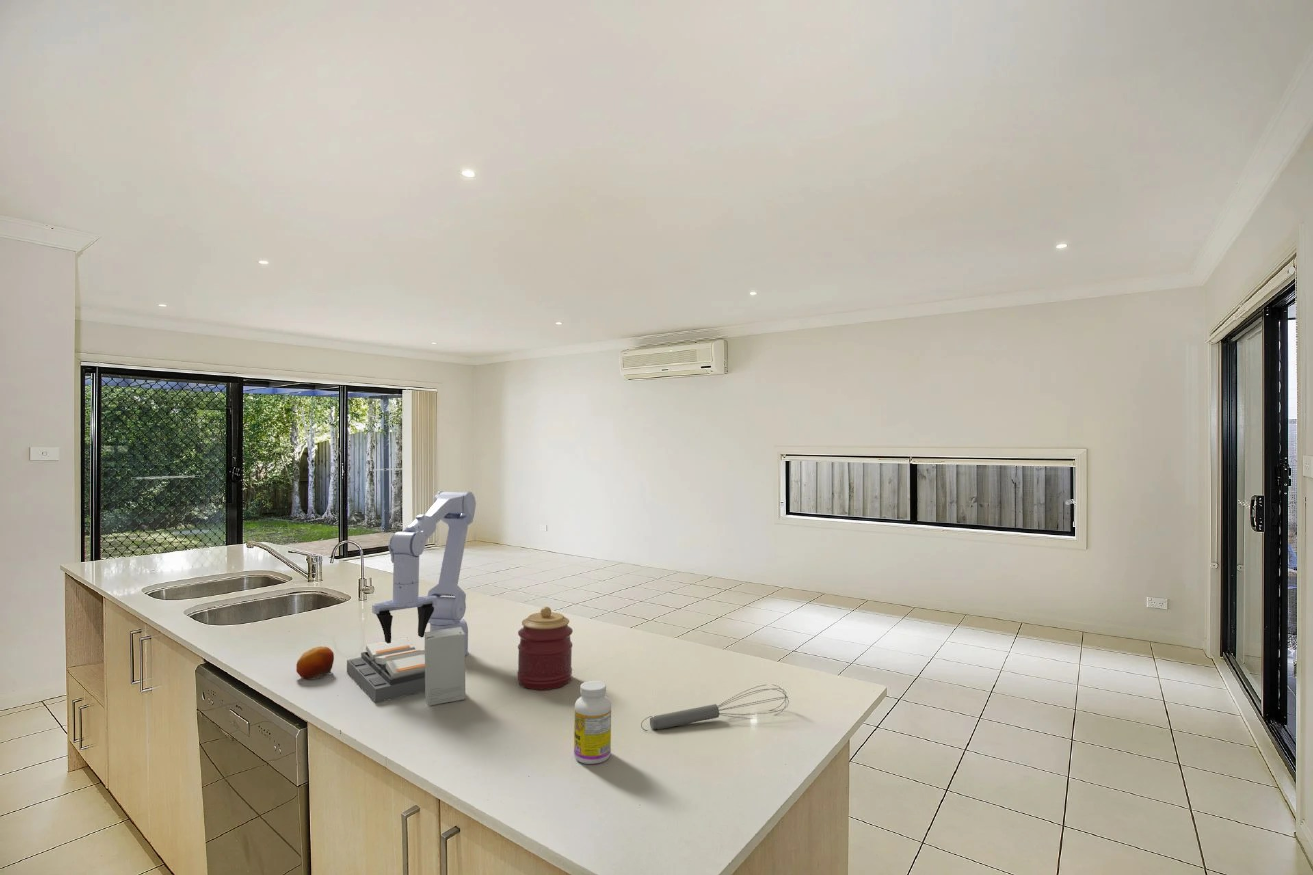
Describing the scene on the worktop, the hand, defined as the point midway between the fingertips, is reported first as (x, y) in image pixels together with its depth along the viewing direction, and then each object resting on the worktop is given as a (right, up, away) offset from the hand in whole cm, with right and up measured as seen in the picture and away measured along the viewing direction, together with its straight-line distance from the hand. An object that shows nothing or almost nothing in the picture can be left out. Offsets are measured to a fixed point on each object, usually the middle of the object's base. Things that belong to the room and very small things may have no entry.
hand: (404, 639), depth 147 cm
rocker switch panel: (-4, -10, +2) cm, 11 cm away
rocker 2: (+3, -5, -4) cm, 7 cm away
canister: (+33, -11, +1) cm, 35 cm away
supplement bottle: (+49, -10, -36) cm, 61 cm away
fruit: (-23, -10, +3) cm, 25 cm away
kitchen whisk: (+73, -11, -20) cm, 77 cm away
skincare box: (+13, -10, -10) cm, 19 cm away
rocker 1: (-7, -5, +8) cm, 12 cm away
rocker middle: (-2, -5, +2) cm, 6 cm away
